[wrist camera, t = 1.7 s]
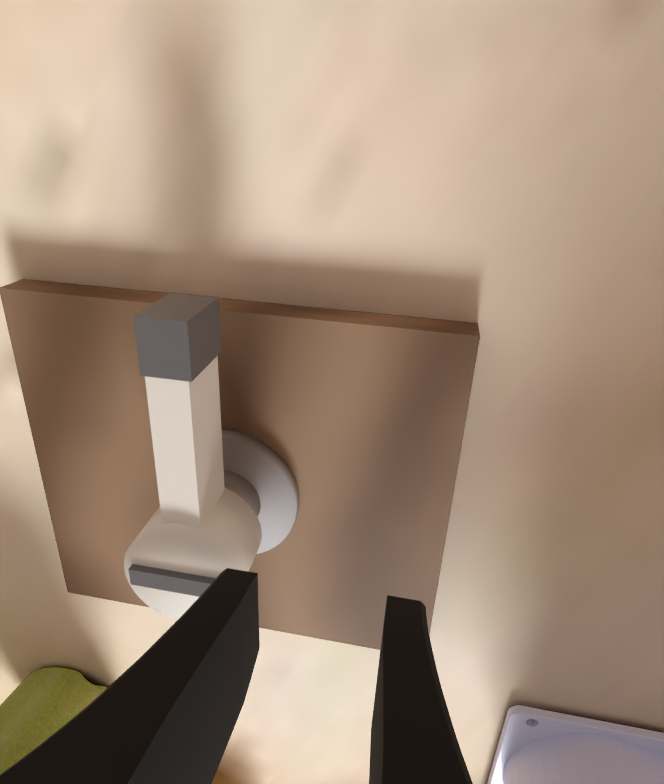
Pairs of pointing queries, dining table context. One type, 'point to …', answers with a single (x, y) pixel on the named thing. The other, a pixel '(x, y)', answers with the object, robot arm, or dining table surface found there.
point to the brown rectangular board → (258, 445)
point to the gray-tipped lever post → (186, 461)
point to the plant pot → (41, 710)
